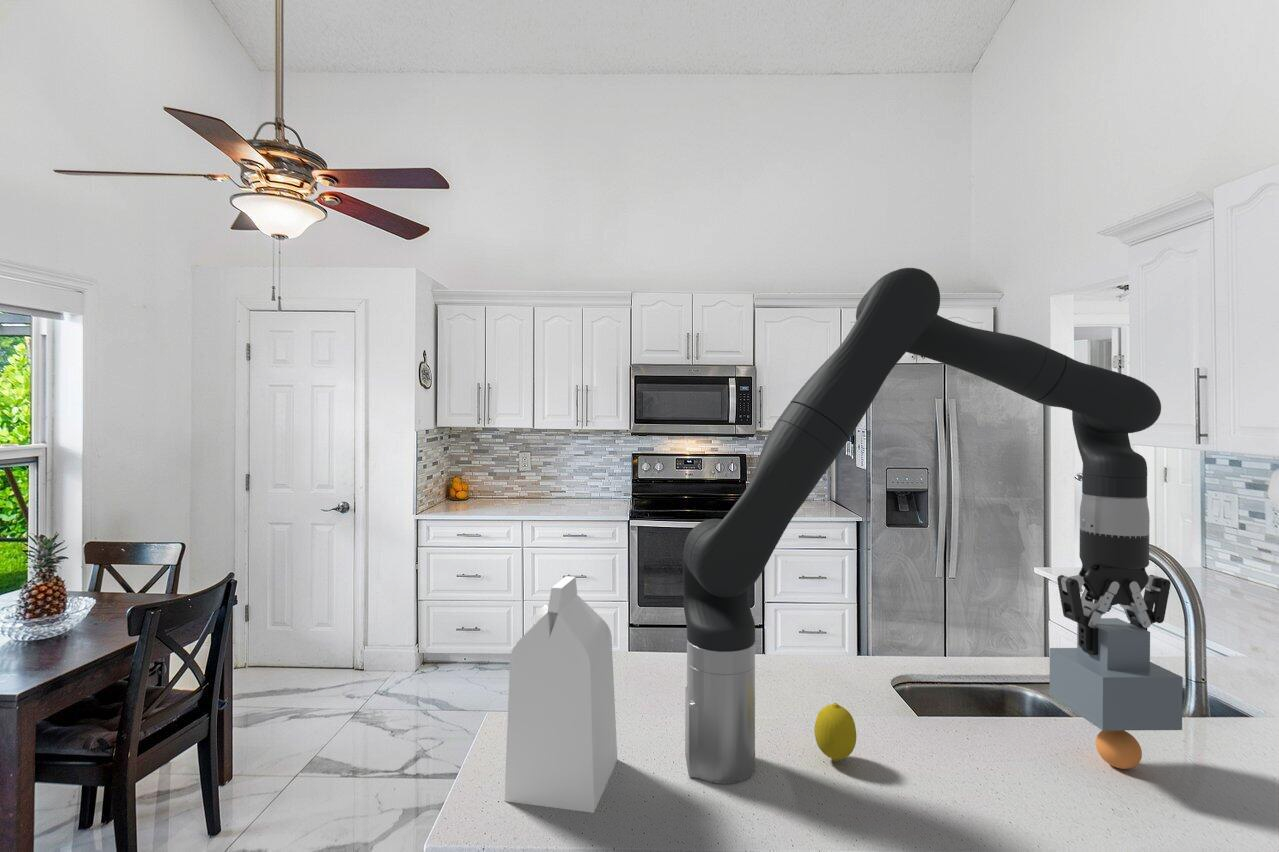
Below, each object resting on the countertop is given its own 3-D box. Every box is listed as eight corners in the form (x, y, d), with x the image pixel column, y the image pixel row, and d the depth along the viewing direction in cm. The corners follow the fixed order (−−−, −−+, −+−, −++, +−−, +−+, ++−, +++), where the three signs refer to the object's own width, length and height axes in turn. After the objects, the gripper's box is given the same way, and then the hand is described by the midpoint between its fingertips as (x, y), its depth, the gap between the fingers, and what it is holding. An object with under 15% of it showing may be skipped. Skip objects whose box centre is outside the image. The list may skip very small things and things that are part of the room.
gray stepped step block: (1102, 730, 80) (1103, 638, 80) (1049, 695, 90) (1050, 613, 90) (1182, 730, 80) (1183, 638, 80) (1120, 694, 90) (1120, 613, 90)
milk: (594, 812, 75) (593, 597, 75) (504, 801, 78) (503, 592, 77) (617, 759, 87) (617, 573, 87) (539, 750, 89) (538, 569, 89)
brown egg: (1141, 782, 83) (1108, 767, 83) (1112, 761, 88) (1080, 747, 88) (1158, 749, 83) (1125, 733, 82) (1127, 729, 88) (1096, 715, 87)
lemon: (859, 774, 83) (859, 714, 83) (815, 769, 84) (816, 710, 84) (853, 752, 89) (853, 696, 89) (813, 748, 90) (813, 693, 90)
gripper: (1080, 534, 81) (1079, 664, 81) (1191, 533, 81) (1190, 663, 81) (1042, 524, 88) (1041, 643, 88) (1143, 523, 88) (1142, 643, 89)
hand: (1112, 652), depth 85 cm, fingers closed on gray stepped step block, 5 cm apart
